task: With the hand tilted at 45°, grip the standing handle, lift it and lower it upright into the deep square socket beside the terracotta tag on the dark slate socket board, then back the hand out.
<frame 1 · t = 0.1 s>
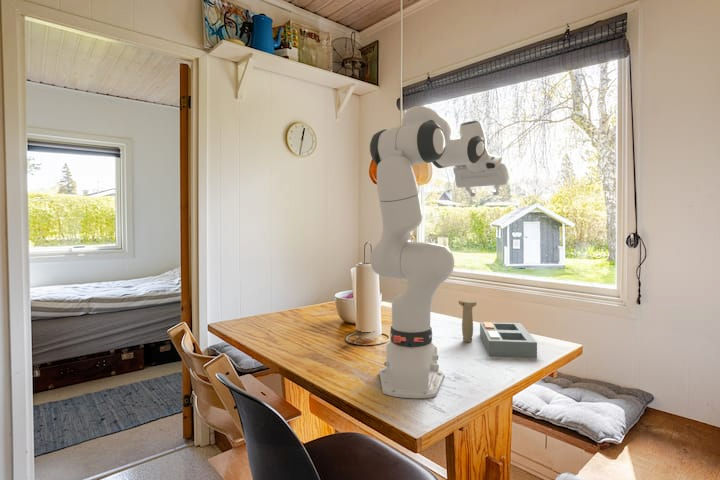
hand: (484, 195, 158), 54 cm above the table, tool tilted 30°, fingers open, 8 cm apart
handle: (467, 341, 148), on the table
socket board: (508, 345, 143), on the table
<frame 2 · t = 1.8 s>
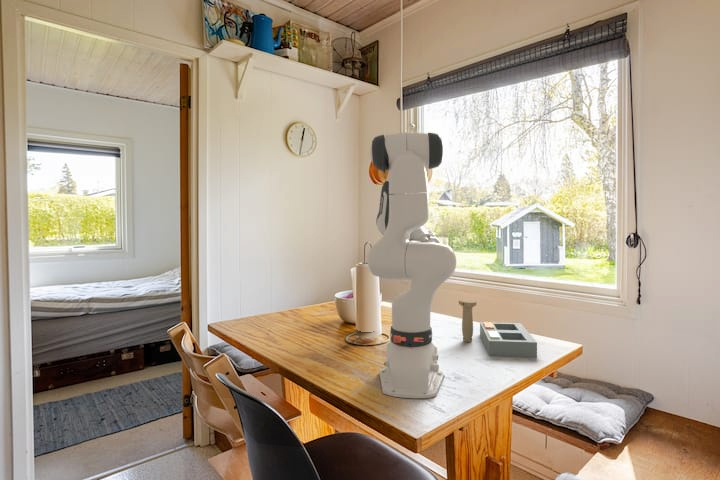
hand: (438, 264, 154), 28 cm above the table, tool tilted 45°, fingers open, 8 cm apart
nothing on the table moved.
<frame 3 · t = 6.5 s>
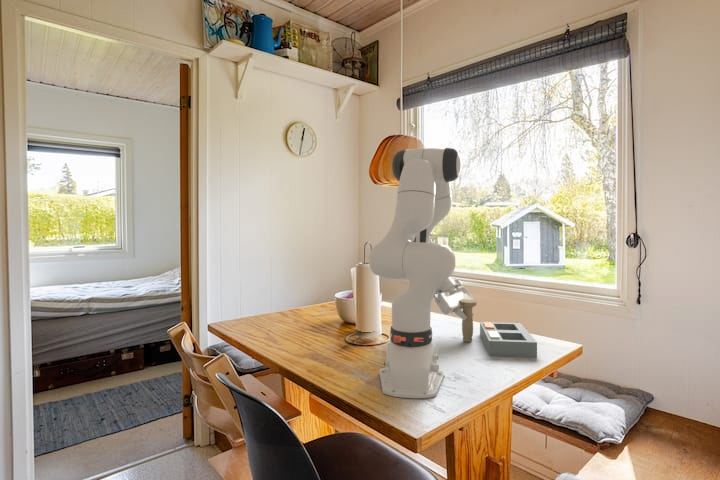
hand: (469, 317, 147), 9 cm above the table, tool tilted 45°, fingers closed on handle, 3 cm apart
handle: (467, 341, 148), on the table, touching gripper
everything else where it was.
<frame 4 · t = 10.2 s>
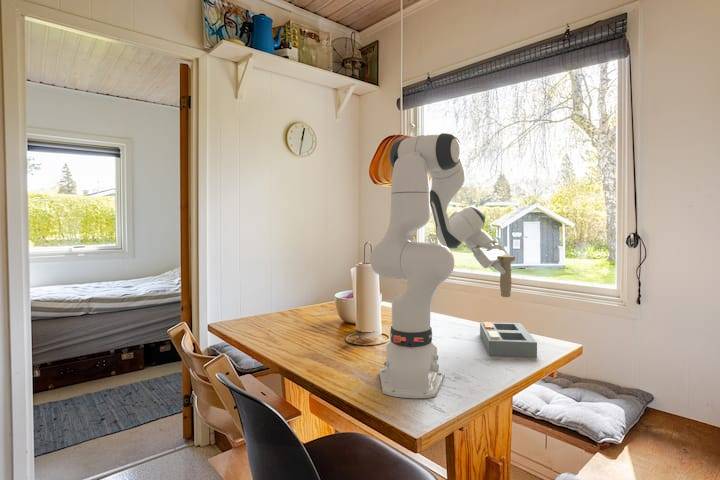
hand: (507, 272, 147), 25 cm above the table, tool tilted 45°, fingers closed on handle, 3 cm apart
handle: (505, 297, 148), point 16 cm above the table, touching gripper
everything else where it was.
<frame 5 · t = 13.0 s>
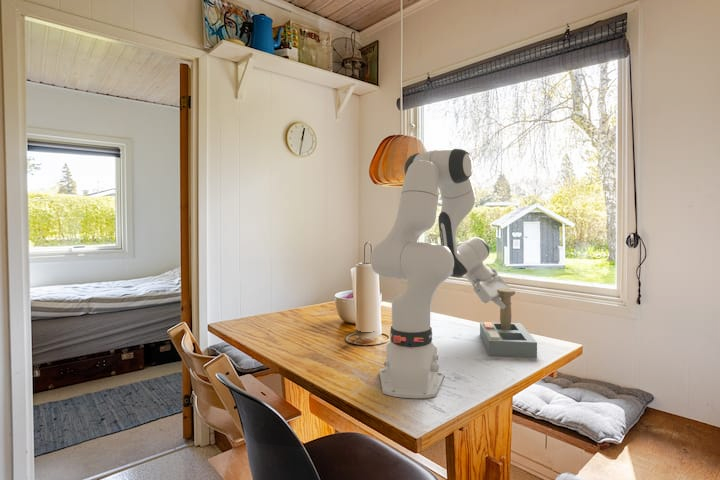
hand: (507, 306, 148), 13 cm above the table, tool tilted 45°, fingers closed on handle, 3 cm apart
handle: (505, 330, 149), point 3 cm above the table, touching gripper
everything else where it was.
when the fingers open (10 cm above the table, at t = 14.3 s): handle moves 2 cm, resting in socket board.
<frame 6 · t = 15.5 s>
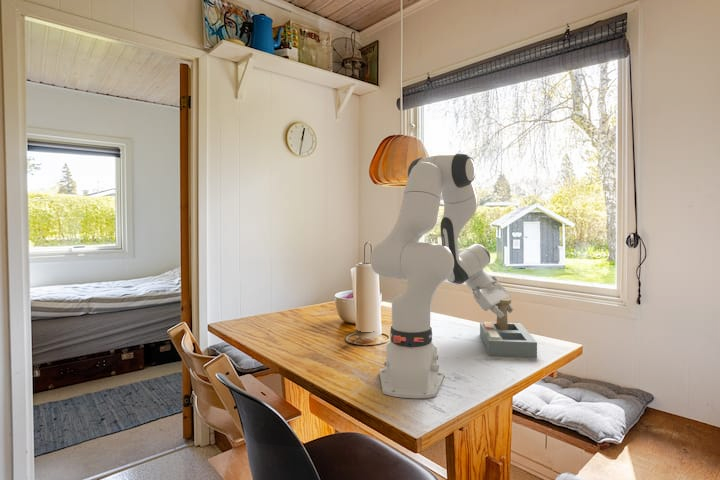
hand: (507, 314, 148), 10 cm above the table, tool tilted 45°, fingers open, 8 cm apart
handle: (501, 338, 151), resting in socket board
everything else where it was.
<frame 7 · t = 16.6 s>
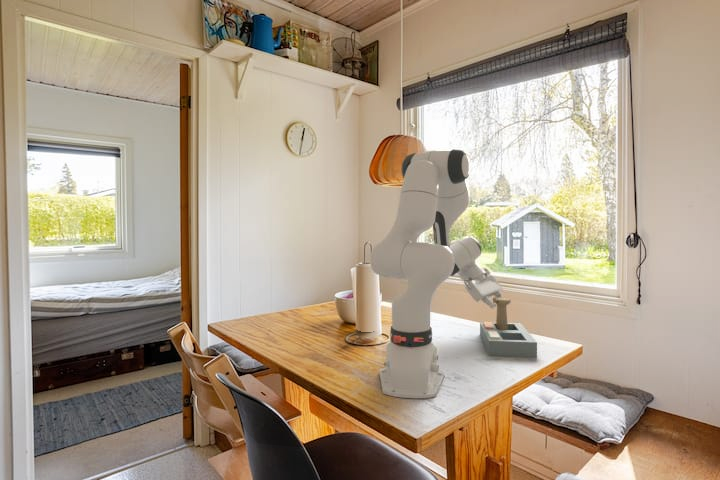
hand: (499, 305, 150), 13 cm above the table, tool tilted 45°, fingers open, 8 cm apart
nothing on the table moved.
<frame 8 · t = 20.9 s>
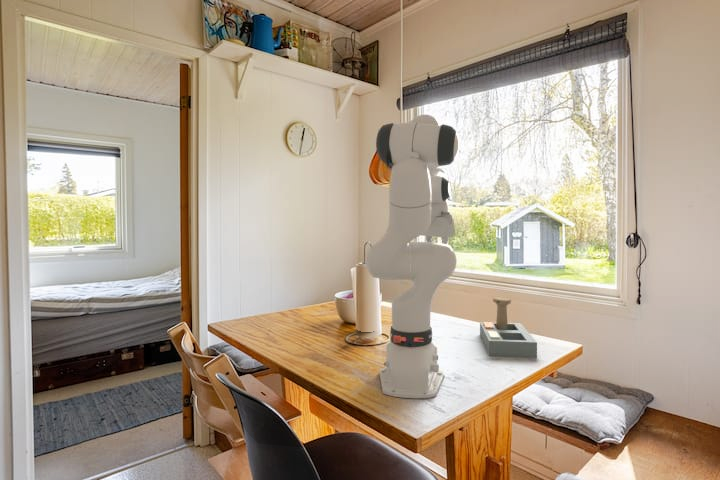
hand: (436, 248, 153), 34 cm above the table, tool pointing down, fingers open, 8 cm apart
nothing on the table moved.
at the end: handle 2.4 cm from the target spot on the socket board, point 0.0 cm above the socket board's base; handle tilted 0°; the gripper is holding nothing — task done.
